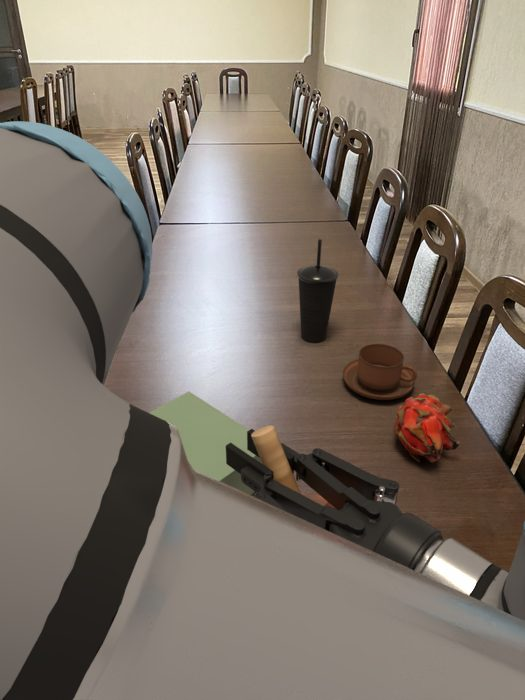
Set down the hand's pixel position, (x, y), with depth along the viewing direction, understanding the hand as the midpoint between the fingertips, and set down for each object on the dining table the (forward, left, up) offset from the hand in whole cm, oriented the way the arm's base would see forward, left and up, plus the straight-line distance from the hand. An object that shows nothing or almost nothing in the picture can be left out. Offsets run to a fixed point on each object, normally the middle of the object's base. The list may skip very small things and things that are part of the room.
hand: (239, 446), depth 61 cm
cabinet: (-8, +6, -12) cm, 15 cm away
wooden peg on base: (+9, -5, -7) cm, 12 cm away
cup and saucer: (+13, +35, -12) cm, 39 cm away
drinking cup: (-1, +48, -12) cm, 49 cm away
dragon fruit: (+21, +21, -12) cm, 32 cm away
